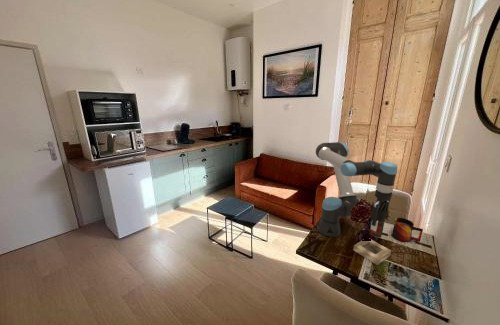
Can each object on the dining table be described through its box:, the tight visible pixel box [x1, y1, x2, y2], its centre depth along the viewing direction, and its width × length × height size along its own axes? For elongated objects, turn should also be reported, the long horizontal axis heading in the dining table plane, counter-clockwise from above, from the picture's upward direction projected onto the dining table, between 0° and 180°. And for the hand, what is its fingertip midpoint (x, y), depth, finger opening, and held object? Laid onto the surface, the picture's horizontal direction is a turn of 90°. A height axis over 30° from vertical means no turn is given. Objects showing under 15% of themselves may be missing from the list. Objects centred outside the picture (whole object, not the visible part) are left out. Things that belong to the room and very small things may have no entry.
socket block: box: [352, 239, 392, 266], centre depth 120 cm, size 14×14×4 cm
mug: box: [391, 217, 424, 243], centre depth 132 cm, size 10×14×12 cm
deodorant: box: [369, 210, 387, 238], centre depth 114 cm, size 6×6×15 cm
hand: (376, 228), depth 115 cm, fingers closed on deodorant, 6 cm apart
